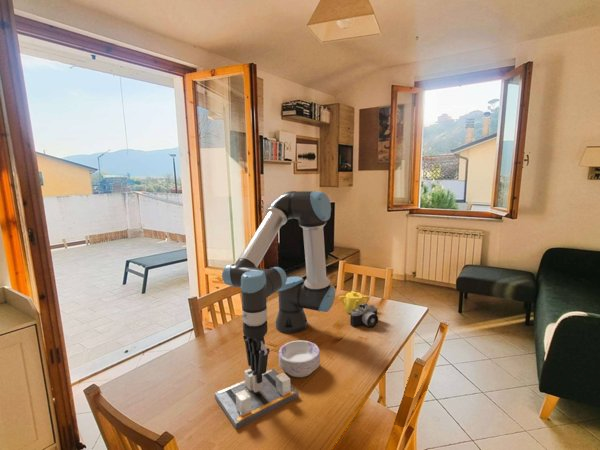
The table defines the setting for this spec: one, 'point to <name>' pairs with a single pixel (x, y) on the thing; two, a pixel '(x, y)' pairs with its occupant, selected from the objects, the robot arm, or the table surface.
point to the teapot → (353, 301)
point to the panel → (256, 398)
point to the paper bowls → (299, 358)
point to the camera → (364, 316)
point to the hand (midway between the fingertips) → (257, 389)
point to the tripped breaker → (248, 379)
